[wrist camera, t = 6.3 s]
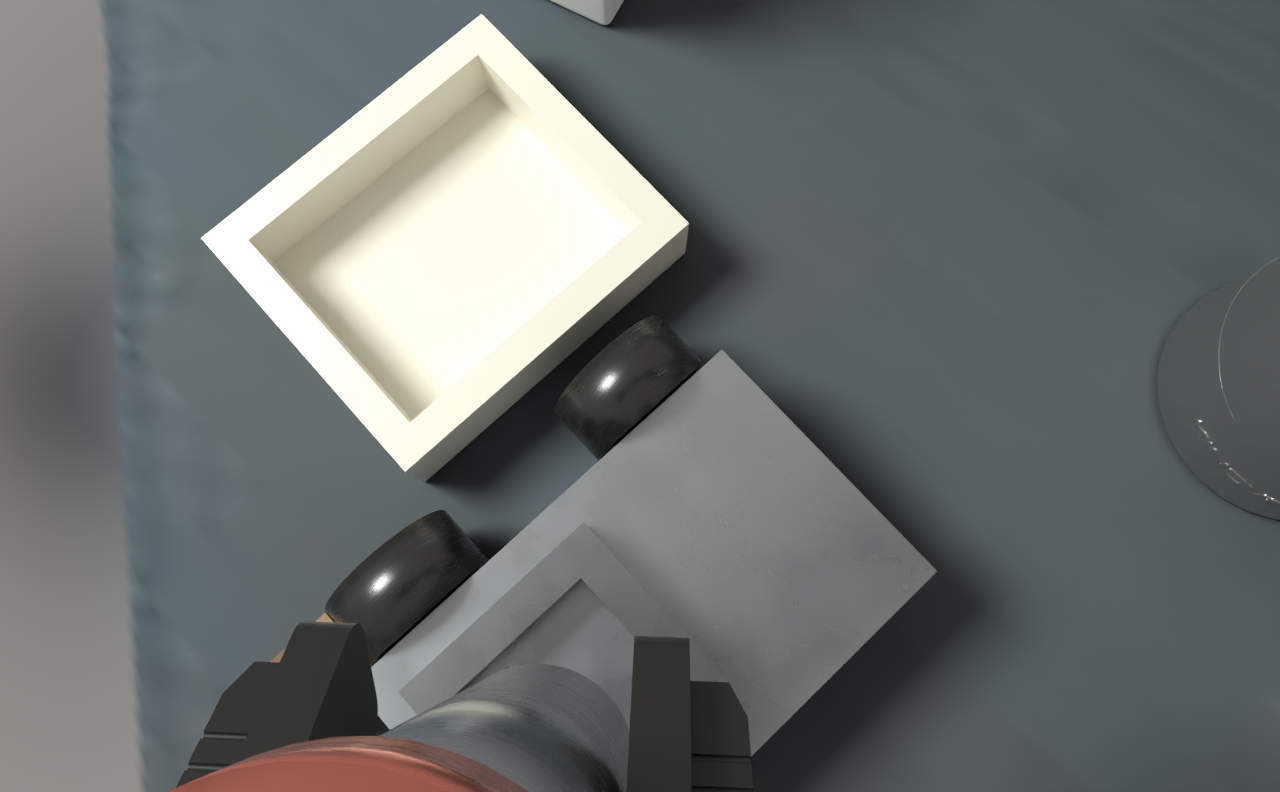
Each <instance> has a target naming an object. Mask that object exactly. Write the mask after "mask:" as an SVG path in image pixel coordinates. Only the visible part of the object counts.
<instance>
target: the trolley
mask: <svg viewBox="0 0 1280 792" xmlns="http://www.w3.org/2000/svg"><path fill="white" fill-rule="evenodd" d="M554 413H555V414H556V415H557V416H558V417H559V418H560V419H561V420H562V422H563V423H564V424H565V425H566V426H567V427H568V428H569V429H570V430H571V431H572V432H573V434H574V435H575V436H576V437H577V438H578V439H579V440H580V441H581V442H582V443H583V444H584V446H585V447H586V448H587V449H588V450H589V451H590V452H591V453H592V454H593V455H594V456H595V457H596V459H597V460H598V462H597V463H596V464H595V465H594V466H593V467H592V468H590V469H589V470H588V471H587V472H586V473H585V474H584V475H583V476H582V477H581V478H579V479H578V480H577V481H576V482H575V483H574V484H573V485H572V486H571V487H570V488H568V489H567V490H566V491H565V492H564V493H563V494H562V495H561V496H560V497H559V498H557V499H556V500H555V501H554V502H553V503H552V504H551V505H550V506H549V507H547V508H546V509H545V510H544V511H543V512H542V513H541V514H540V515H539V516H538V517H536V518H535V519H534V520H533V521H532V522H531V523H530V524H529V525H528V526H527V527H525V528H524V529H523V530H522V531H521V532H520V533H519V534H518V535H517V536H516V537H514V538H513V539H512V540H511V541H510V542H509V543H508V544H507V545H506V546H504V547H503V548H502V549H501V550H500V551H499V552H498V553H497V554H496V555H495V556H493V557H492V558H491V559H490V560H488V559H487V558H486V557H485V555H484V554H483V553H482V552H481V551H480V550H479V549H478V547H477V546H476V545H475V544H474V543H473V542H472V541H471V539H470V538H469V537H468V536H467V535H466V534H465V533H464V531H463V530H462V529H461V528H460V527H459V526H458V525H457V523H456V522H455V521H454V520H453V519H452V518H451V517H450V515H449V514H448V513H447V512H446V511H445V510H439V511H435V512H433V513H430V514H428V515H426V516H424V517H422V518H421V519H419V520H417V521H415V522H414V523H412V524H411V525H409V526H408V527H406V528H405V529H403V530H402V531H400V532H399V533H398V534H396V535H395V536H393V537H392V538H391V539H389V540H388V541H387V542H386V543H384V544H383V545H382V546H381V547H379V548H378V549H377V550H376V551H375V552H373V553H372V554H371V555H370V556H369V557H368V558H366V559H365V560H364V561H363V562H362V563H361V564H360V565H359V566H358V567H357V568H356V569H355V570H354V571H353V572H352V573H351V574H350V575H349V576H348V577H347V578H346V579H345V580H344V581H343V582H342V583H341V584H340V585H339V587H338V588H337V589H336V590H335V591H334V593H333V594H332V596H331V597H330V599H329V600H328V602H327V604H326V608H325V610H326V612H327V613H328V614H329V615H330V616H331V618H332V619H333V620H334V621H335V622H336V623H359V624H361V626H362V627H363V630H364V634H365V639H366V644H367V649H368V654H369V659H370V664H371V666H372V667H371V669H372V674H373V679H374V684H375V690H376V695H377V702H378V716H379V717H380V719H381V720H382V721H383V722H384V723H385V725H386V726H387V727H388V728H389V729H392V728H394V727H396V726H398V725H400V724H402V723H404V722H405V721H407V720H409V719H411V718H413V717H415V716H417V715H419V714H420V713H422V712H424V711H426V710H428V709H430V708H432V707H434V706H435V705H437V704H439V703H441V702H443V701H445V700H447V699H448V698H450V697H452V696H454V695H456V694H458V693H460V692H462V691H463V690H465V689H467V688H469V687H471V686H473V685H475V684H477V683H478V682H480V681H482V680H484V679H486V678H488V677H490V676H492V675H494V674H496V673H498V672H500V671H503V670H505V669H508V668H512V667H515V666H520V665H526V664H549V665H556V666H560V667H564V668H568V669H570V670H572V671H575V672H577V673H580V674H581V675H583V676H585V677H587V678H588V679H590V680H592V681H593V682H594V683H595V684H597V685H598V686H599V687H601V688H602V689H603V690H604V691H605V692H606V693H607V694H608V695H609V696H610V697H611V699H612V700H613V701H614V703H615V704H616V705H617V707H618V708H619V710H620V712H621V713H622V715H623V717H624V718H625V721H626V723H627V725H628V728H629V730H630V711H631V691H632V672H633V652H634V636H653V637H677V638H689V642H690V681H709V682H729V683H730V685H731V687H732V689H733V690H734V692H735V694H736V696H737V698H738V700H739V701H740V703H741V705H742V707H743V709H744V711H745V713H746V714H747V716H748V724H749V737H750V751H751V756H752V755H753V754H754V753H755V752H756V751H757V750H758V749H759V748H760V747H761V746H762V745H763V744H764V743H765V742H766V741H767V740H768V739H769V738H770V737H771V736H772V735H773V734H774V733H775V732H776V731H777V730H778V729H779V728H780V727H781V726H782V725H783V724H784V723H785V722H786V721H787V720H788V719H789V718H790V717H791V716H792V715H793V714H794V713H795V712H797V711H798V710H799V709H800V708H801V707H802V706H803V705H804V704H805V703H806V702H807V701H808V700H809V699H810V698H811V697H812V696H813V695H814V694H815V693H816V692H817V691H818V690H819V689H820V688H821V687H822V686H823V685H824V684H825V683H826V682H827V681H828V680H829V679H830V678H831V677H832V676H833V675H834V674H835V673H836V672H837V671H838V670H839V669H840V668H841V667H842V666H843V665H844V664H845V663H846V662H847V661H848V660H849V659H850V658H851V657H852V656H853V655H854V654H855V653H856V652H857V651H858V650H859V649H860V648H861V647H862V646H863V645H864V644H865V643H866V642H867V641H868V640H869V639H870V638H871V637H872V636H873V635H874V634H875V633H876V632H877V631H878V630H879V629H880V628H881V627H882V626H883V625H884V624H885V623H886V622H887V621H888V620H889V619H890V618H891V617H892V616H893V615H894V614H895V613H896V612H897V611H898V610H899V609H900V608H901V607H902V606H903V605H904V604H905V603H906V602H907V601H908V600H909V599H910V598H911V597H912V596H913V595H914V594H915V593H916V592H917V591H918V590H919V589H920V588H921V587H922V586H923V585H924V584H925V583H926V582H927V581H928V580H929V579H930V578H931V577H932V576H933V575H934V574H935V573H936V572H937V570H936V569H935V568H934V567H933V566H932V565H931V564H930V563H929V562H928V561H927V560H926V559H925V558H924V557H923V556H922V555H921V554H920V553H919V552H918V551H917V550H916V549H915V548H914V547H913V546H912V545H911V544H910V543H909V542H908V541H907V540H906V539H905V538H904V536H903V535H902V534H901V533H900V532H899V531H898V530H897V529H896V528H895V527H894V526H893V525H892V524H891V523H890V522H889V521H888V520H887V519H886V518H885V517H884V516H883V515H882V514H881V513H880V512H879V511H878V510H877V509H876V508H875V507H874V506H873V505H872V504H871V502H870V501H869V500H868V499H867V498H866V497H865V496H864V495H863V494H862V493H861V492H860V491H859V490H858V489H857V488H856V487H855V486H854V485H853V484H852V483H851V482H850V481H849V480H848V479H847V478H846V477H845V476H844V475H843V474H842V473H841V472H840V471H839V469H838V468H837V467H836V466H835V465H834V464H833V463H832V462H831V461H830V460H829V459H828V458H827V457H826V456H825V455H824V454H823V453H822V452H821V451H820V450H819V449H818V448H817V447H816V446H815V445H814V444H813V443H812V442H811V441H810V440H809V439H808V438H807V437H806V435H805V434H804V433H803V432H802V431H801V430H800V429H799V428H798V427H797V426H796V425H795V424H794V423H793V422H792V421H791V420H790V419H789V418H788V417H787V416H786V415H785V414H784V413H783V412H782V411H781V410H780V409H779V408H778V407H777V406H776V405H775V404H774V403H773V401H772V400H771V399H770V398H769V397H768V396H767V395H766V394H765V393H764V392H763V391H762V390H761V389H760V388H759V387H758V386H757V385H756V384H755V383H754V382H753V381H752V380H751V379H750V378H749V377H748V376H747V375H746V374H745V373H744V372H743V371H742V370H741V368H740V367H739V366H738V365H737V364H736V363H735V362H734V361H733V360H732V359H731V358H730V357H729V356H728V355H727V354H726V353H725V352H724V351H723V350H721V351H719V352H718V353H717V354H716V355H715V356H714V357H713V358H712V359H711V360H710V361H708V362H707V363H706V364H704V363H703V362H702V360H701V359H700V358H699V357H698V356H697V355H696V354H695V353H694V352H693V351H692V350H691V349H690V348H689V347H688V346H687V345H686V344H685V343H684V342H683V341H682V340H681V339H680V338H679V337H678V336H677V335H676V334H675V332H674V331H673V330H672V329H671V328H670V327H669V326H668V325H667V324H666V323H665V322H664V321H663V320H662V319H661V318H660V317H659V316H658V315H652V316H649V317H647V318H645V319H643V320H641V321H639V322H638V323H636V324H634V325H633V326H631V327H630V328H628V329H627V330H626V331H624V332H623V333H622V334H620V335H619V336H618V337H617V338H615V339H614V340H613V341H612V342H611V343H609V344H608V345H607V346H606V347H605V348H604V349H603V350H601V351H600V352H599V353H598V354H597V355H596V356H595V357H594V358H593V359H592V360H591V361H590V362H589V363H588V364H587V365H586V366H585V367H584V368H583V369H582V370H581V371H580V372H579V373H578V374H577V376H576V377H575V378H574V379H573V380H572V381H571V383H570V384H569V385H568V386H567V388H566V389H565V390H564V392H563V393H562V395H561V396H560V398H559V399H558V401H557V403H556V405H555V408H554Z"/></svg>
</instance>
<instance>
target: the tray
mask: <svg viewBox="0 0 1280 792" xmlns="http://www.w3.org/2000/svg"><path fill="white" fill-rule="evenodd" d="M688 228H689V223H688V222H687V221H686V220H685V219H684V218H683V217H682V216H681V215H680V214H679V213H678V212H677V211H676V210H675V209H674V208H673V207H672V206H671V204H670V203H669V202H668V201H667V200H666V199H665V198H664V197H663V196H662V195H661V194H660V193H659V192H658V191H657V190H656V189H655V188H654V187H653V186H652V185H651V184H650V183H649V182H648V181H647V180H646V179H645V178H644V177H643V176H642V175H641V174H640V173H639V172H638V171H637V170H636V169H635V168H634V167H633V166H632V165H631V164H630V163H629V162H628V161H627V160H626V159H625V158H624V157H623V156H622V155H621V154H620V153H619V152H618V151H617V150H616V149H615V148H614V147H613V146H612V145H611V144H610V143H609V142H608V141H607V140H606V139H605V138H604V137H603V136H602V135H601V134H600V133H599V132H598V131H597V130H596V129H595V128H594V127H593V126H592V125H591V124H590V123H589V122H588V121H587V120H586V119H585V118H584V117H583V116H582V115H581V114H580V113H579V112H578V111H577V110H576V109H575V108H574V107H573V106H572V105H571V104H570V103H569V102H568V101H567V100H566V99H565V98H564V97H563V96H562V95H561V94H560V93H559V92H558V90H557V89H556V88H555V87H554V86H553V85H552V84H551V83H550V82H549V81H548V80H547V79H546V78H545V77H544V76H543V75H542V74H541V73H540V72H539V71H538V70H537V69H536V68H535V67H534V66H533V65H532V64H531V63H530V62H529V61H528V60H527V59H526V58H525V57H524V56H523V55H522V54H521V53H520V52H519V51H518V50H517V49H516V48H515V47H514V46H513V45H512V44H511V43H510V42H509V41H508V40H507V39H506V38H505V37H504V36H503V35H502V34H501V33H500V32H499V31H498V30H497V29H496V28H495V27H494V26H493V25H492V24H491V23H490V22H489V21H488V20H487V19H486V18H485V17H484V16H483V15H482V14H481V15H479V16H478V17H477V18H476V19H474V20H473V21H472V22H471V23H469V24H468V25H467V26H466V27H464V28H463V29H462V30H461V31H459V32H458V33H457V34H456V35H454V36H453V37H452V38H451V39H449V40H448V41H447V42H446V43H444V44H443V45H442V46H441V47H439V48H438V49H437V50H436V51H434V52H433V53H432V54H431V55H429V56H428V57H427V58H426V59H424V60H423V61H422V62H421V63H419V64H418V65H417V66H416V67H414V68H413V69H412V70H411V71H409V72H408V73H407V74H406V75H404V76H403V77H402V78H401V79H399V80H398V81H397V82H396V83H394V84H393V85H392V86H391V87H389V88H388V89H387V90H386V91H384V92H383V93H382V94H381V95H379V96H378V97H377V98H376V99H374V100H373V101H372V102H371V103H369V104H368V105H367V106H366V107H364V108H363V109H362V110H361V111H359V112H358V113H357V114H356V115H354V116H353V117H352V118H351V119H349V120H348V121H347V122H346V123H344V124H343V125H342V126H341V127H339V128H338V129H337V130H336V131H334V132H333V133H332V134H331V135H329V136H328V137H327V138H326V139H324V140H323V141H322V142H321V143H319V144H318V145H317V146H316V147H314V148H313V149H312V150H311V151H309V152H308V153H307V154H306V155H304V156H303V157H302V158H301V159H299V160H298V161H297V162H296V163H294V164H293V165H292V166H291V167H289V168H288V169H287V170H286V171H284V172H283V173H282V174H281V175H279V176H278V177H277V178H276V179H274V180H273V181H272V182H271V183H269V184H268V185H267V186H266V187H264V188H263V189H262V190H261V191H259V192H258V193H257V194H256V195H254V196H253V197H252V198H251V199H249V200H248V201H247V202H246V203H244V204H243V205H242V206H241V207H239V208H238V209H237V210H236V211H234V212H233V213H232V214H231V215H229V216H228V217H227V218H226V219H224V220H223V221H222V222H221V223H219V224H218V225H217V226H216V227H214V228H213V229H212V230H210V231H209V232H208V233H207V234H205V235H204V236H203V237H202V238H201V239H202V240H203V241H204V242H205V244H206V245H207V246H208V247H209V248H210V249H211V250H212V252H213V253H214V254H215V255H216V256H217V257H218V258H219V260H220V261H221V262H222V263H223V264H224V265H225V266H226V268H227V269H228V270H229V271H230V272H231V273H232V274H233V276H234V277H235V278H236V279H237V280H238V281H239V282H240V284H241V285H242V286H243V287H244V288H245V289H246V290H247V292H248V293H249V294H250V295H251V296H252V297H253V298H254V300H255V301H256V302H257V303H258V304H259V305H260V306H261V308H262V309H263V310H264V311H265V312H266V313H267V314H268V316H269V317H270V318H271V319H272V320H273V321H274V322H275V324H276V325H277V326H278V327H279V328H280V329H281V330H282V332H283V333H284V334H285V335H286V336H287V337H288V338H289V340H290V341H291V342H292V343H293V344H294V345H295V346H296V348H297V349H298V350H299V351H300V352H301V353H302V354H303V356H304V357H305V358H306V359H307V360H308V361H309V362H310V364H311V365H312V366H313V367H314V368H315V369H316V370H317V372H318V373H319V374H320V375H321V376H322V377H323V378H324V380H325V381H326V382H327V383H328V384H329V385H330V386H331V388H332V389H333V390H334V391H335V392H336V393H337V395H338V396H339V397H340V398H341V399H342V400H343V401H344V403H345V404H346V405H347V406H348V407H349V408H350V409H351V411H352V412H353V413H354V414H355V415H356V416H357V417H358V419H359V420H360V421H361V422H362V423H363V424H364V425H365V427H366V428H367V429H368V430H369V431H370V432H371V433H372V435H373V436H374V437H375V438H376V439H377V440H378V441H379V443H380V444H381V445H382V446H383V447H384V448H385V449H386V451H387V452H388V453H389V454H390V455H391V456H392V457H393V459H394V460H395V461H396V462H397V463H398V464H399V465H400V467H401V468H402V469H403V470H404V471H405V472H406V473H408V474H410V475H412V476H414V477H416V478H418V479H420V480H421V481H423V482H426V481H427V480H428V479H429V478H430V477H432V476H433V475H434V474H435V473H436V472H437V471H438V470H440V469H441V468H442V467H443V466H444V465H445V464H446V463H447V462H449V461H450V460H451V459H452V458H453V457H454V456H455V455H457V454H458V453H459V452H460V451H461V450H462V449H463V448H464V447H466V446H467V445H468V444H469V443H470V442H471V441H472V440H474V439H475V438H476V437H477V436H478V435H479V434H480V433H482V432H483V431H484V430H485V429H486V428H487V427H488V426H489V425H491V424H492V423H493V422H494V421H495V420H496V419H497V418H499V417H500V416H501V415H502V414H503V413H504V412H505V411H506V410H508V409H509V408H510V407H511V406H512V405H513V404H514V403H516V402H517V401H518V400H519V399H520V398H521V397H522V396H524V395H525V394H526V393H527V392H528V391H529V390H530V389H531V388H533V387H534V386H535V385H536V384H537V383H538V382H539V381H541V380H542V379H543V378H544V377H545V376H546V375H547V374H549V373H550V372H551V371H552V370H553V369H554V368H555V367H556V366H558V365H559V364H560V363H561V362H562V361H563V360H564V359H566V358H567V357H568V356H569V355H570V354H571V353H572V352H573V351H575V350H576V349H577V348H578V347H579V346H580V345H581V344H583V343H584V342H585V341H586V340H587V339H588V338H589V337H591V336H592V335H593V334H594V333H595V332H596V331H597V330H598V329H600V328H601V327H602V326H603V325H604V324H605V323H606V322H608V321H609V320H610V319H611V318H612V317H613V316H614V315H615V314H617V313H618V312H619V311H620V310H621V309H622V308H623V307H625V306H626V305H627V304H628V303H629V302H630V301H631V300H633V299H634V298H635V297H636V296H637V295H638V294H639V293H640V292H642V291H643V290H644V289H645V288H646V287H647V286H648V285H650V284H651V283H652V282H653V281H654V280H655V279H656V278H658V277H659V276H660V275H661V274H662V273H663V272H664V271H665V270H667V269H668V268H669V267H670V266H671V265H672V264H673V263H675V262H676V261H677V260H678V259H679V258H680V257H681V256H682V255H684V254H685V251H686V244H687V236H688Z"/></svg>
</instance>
